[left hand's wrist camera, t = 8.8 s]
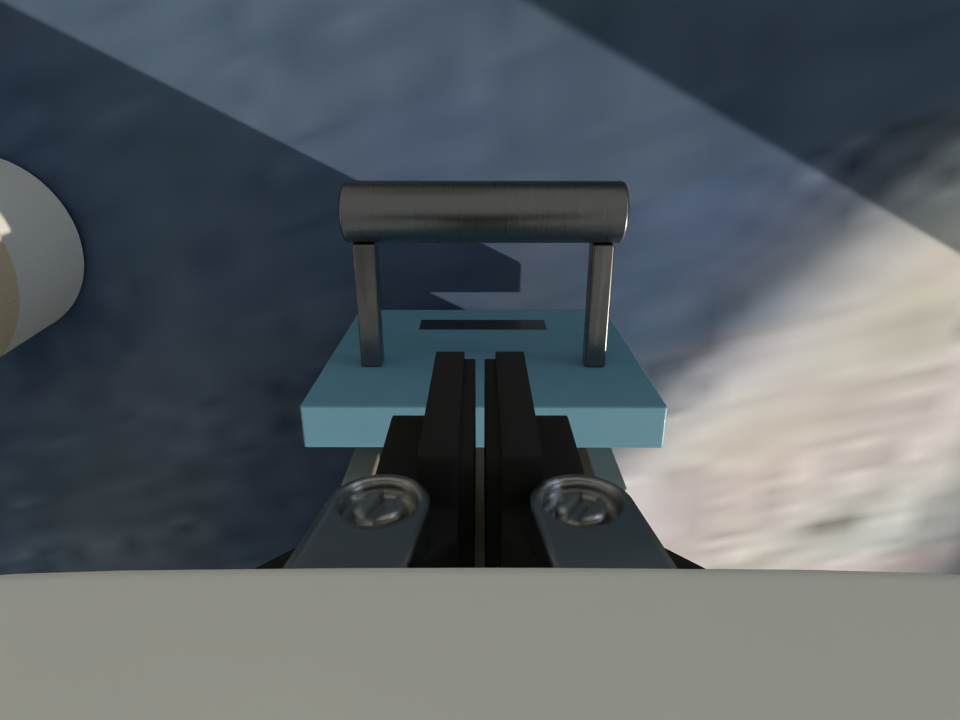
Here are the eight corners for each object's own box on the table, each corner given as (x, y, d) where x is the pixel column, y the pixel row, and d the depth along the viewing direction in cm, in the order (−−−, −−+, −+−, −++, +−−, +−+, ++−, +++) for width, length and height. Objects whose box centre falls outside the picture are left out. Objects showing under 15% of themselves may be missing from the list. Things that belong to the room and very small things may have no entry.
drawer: (349, 165, 22) (274, 192, 14) (616, 165, 22) (694, 193, 14) (381, 602, 29) (342, 786, 21) (582, 603, 29) (621, 787, 21)
